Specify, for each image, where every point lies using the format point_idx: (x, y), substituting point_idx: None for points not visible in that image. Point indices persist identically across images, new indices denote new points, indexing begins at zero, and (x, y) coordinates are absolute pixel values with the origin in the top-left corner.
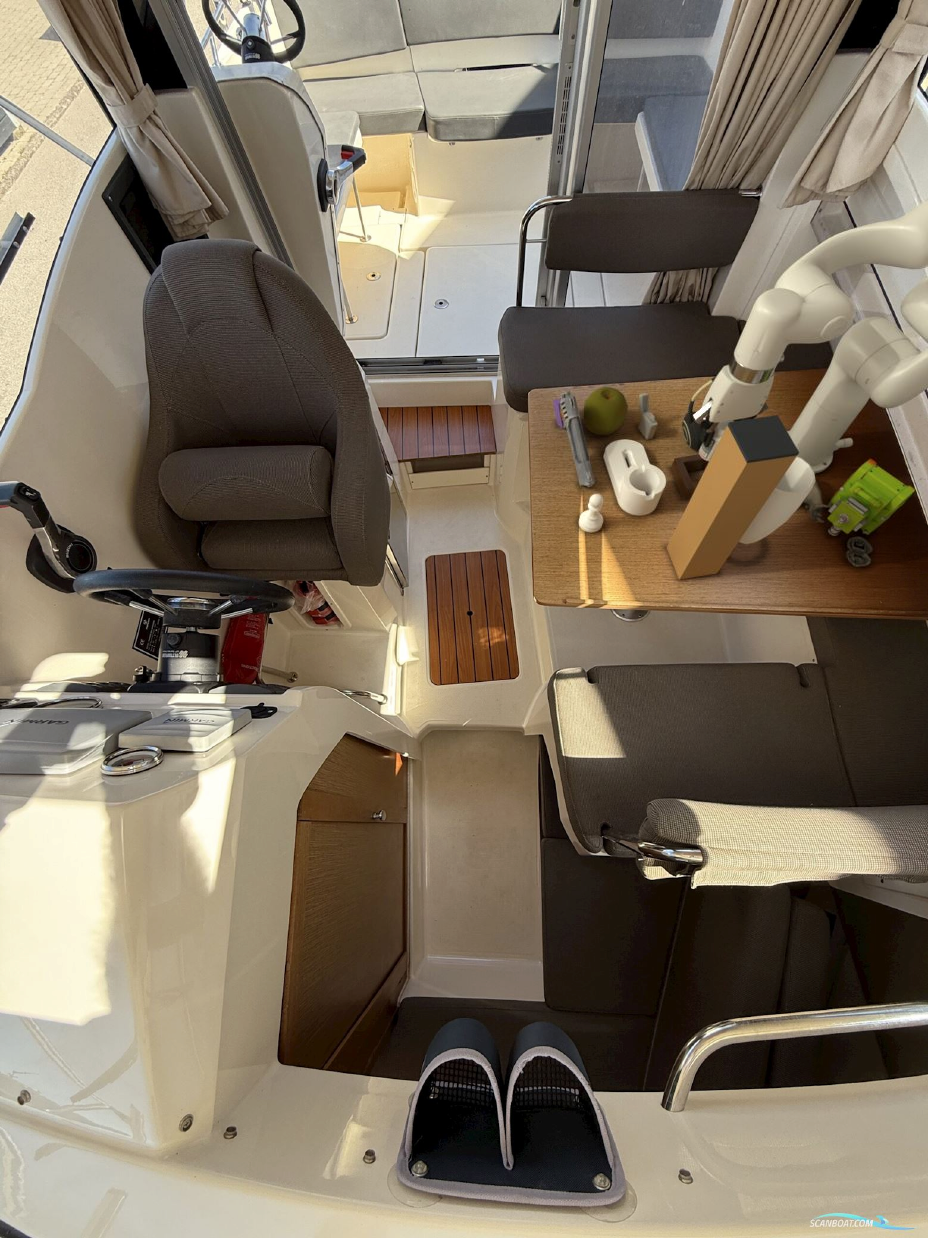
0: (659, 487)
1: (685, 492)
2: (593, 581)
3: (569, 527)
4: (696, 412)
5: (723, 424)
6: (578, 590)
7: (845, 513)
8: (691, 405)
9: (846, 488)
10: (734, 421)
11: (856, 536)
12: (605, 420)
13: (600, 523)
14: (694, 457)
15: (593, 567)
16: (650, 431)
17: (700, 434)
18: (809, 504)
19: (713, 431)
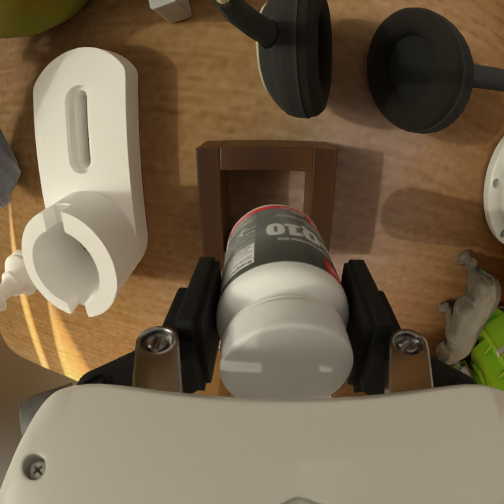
0: (99, 302)
1: None
2: (50, 356)
3: (4, 268)
4: (22, 428)
5: (270, 379)
6: (37, 359)
7: None
8: (224, 16)
9: (500, 360)
10: (364, 343)
11: None
12: (2, 34)
13: (32, 291)
14: (265, 157)
15: (46, 339)
16: (163, 15)
17: (176, 293)
18: (447, 344)
19: (201, 383)
